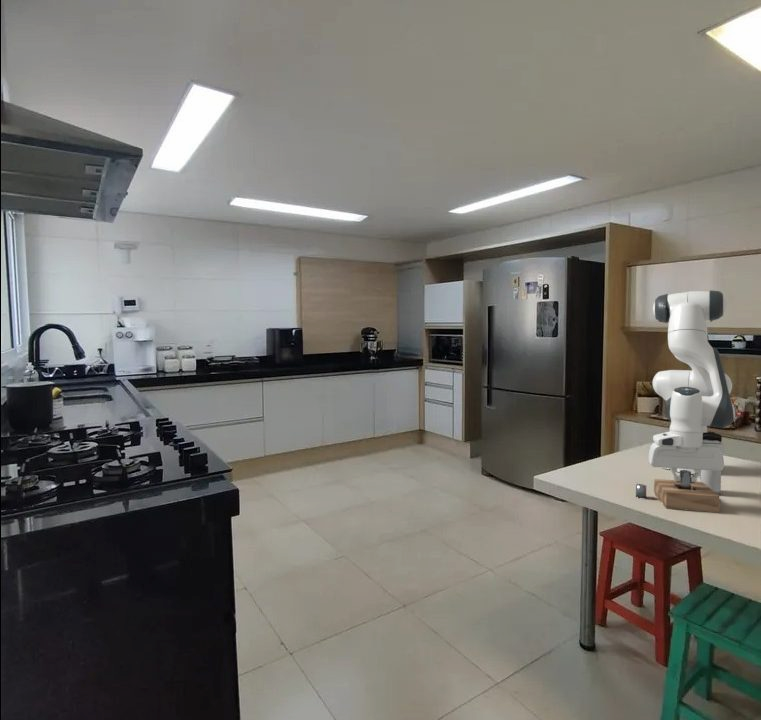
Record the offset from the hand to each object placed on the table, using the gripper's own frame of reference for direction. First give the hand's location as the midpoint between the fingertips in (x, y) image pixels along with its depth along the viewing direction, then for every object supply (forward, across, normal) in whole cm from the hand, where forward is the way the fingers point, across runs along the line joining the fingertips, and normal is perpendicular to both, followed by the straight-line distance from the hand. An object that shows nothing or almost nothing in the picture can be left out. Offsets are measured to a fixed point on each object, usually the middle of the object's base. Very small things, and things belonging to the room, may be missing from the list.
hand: (685, 482), depth 149 cm
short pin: (+7, +12, -2) cm, 14 cm away
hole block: (+6, 0, 0) cm, 7 cm away
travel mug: (+7, -11, -13) cm, 18 cm away
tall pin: (+5, 0, 0) cm, 5 cm away
